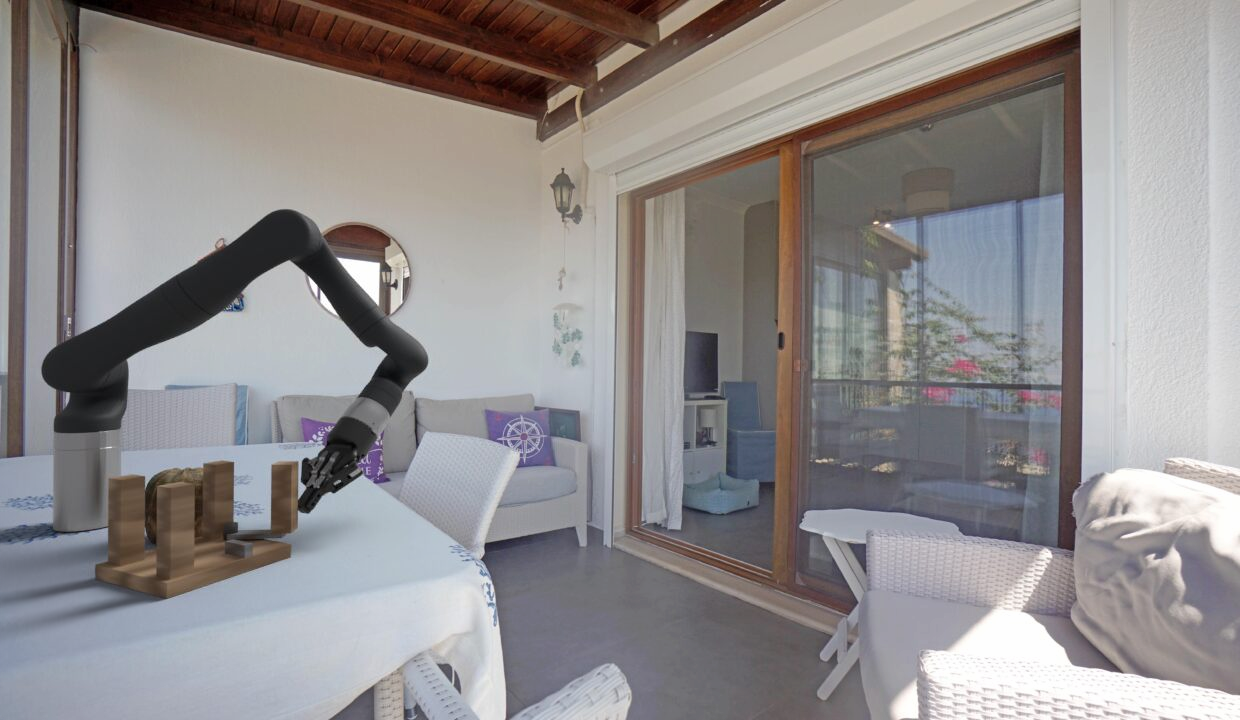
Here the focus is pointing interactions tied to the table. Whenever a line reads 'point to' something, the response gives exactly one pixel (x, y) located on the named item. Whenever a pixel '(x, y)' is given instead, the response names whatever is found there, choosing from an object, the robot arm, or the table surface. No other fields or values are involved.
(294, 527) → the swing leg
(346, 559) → the table surface
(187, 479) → the shell
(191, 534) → the wooden peg stand
